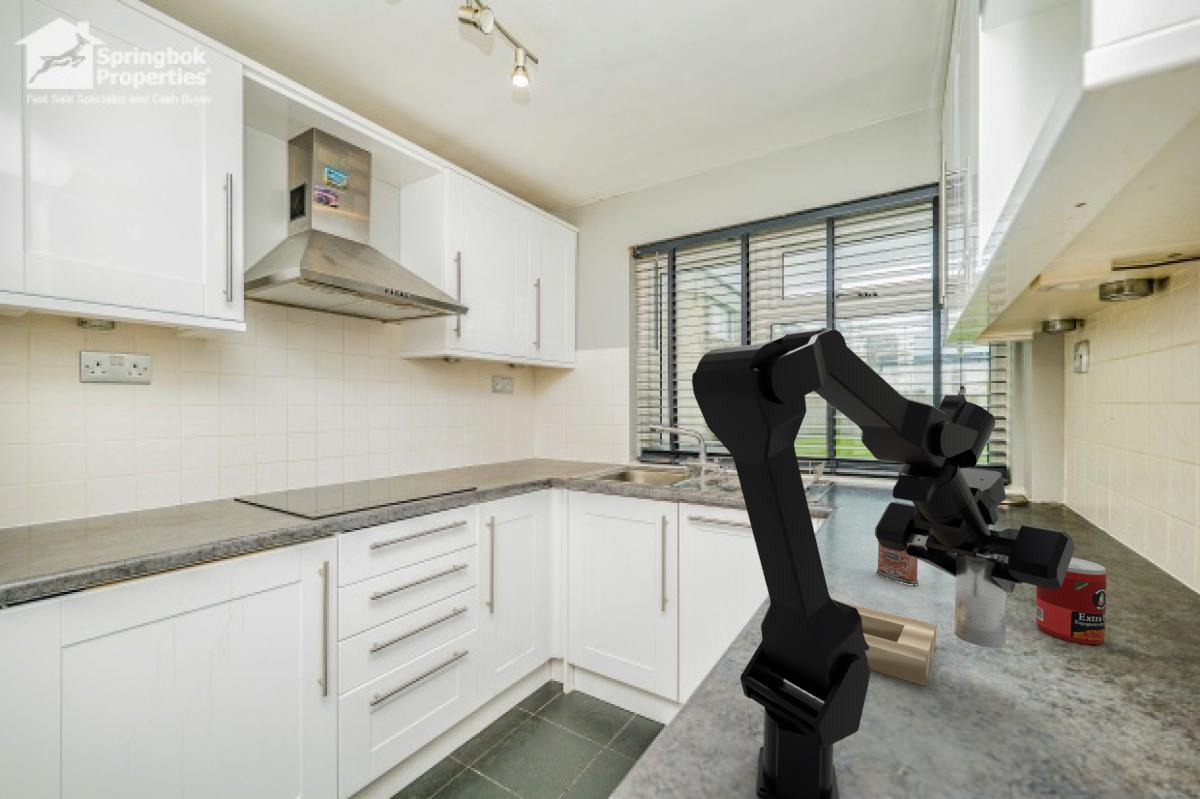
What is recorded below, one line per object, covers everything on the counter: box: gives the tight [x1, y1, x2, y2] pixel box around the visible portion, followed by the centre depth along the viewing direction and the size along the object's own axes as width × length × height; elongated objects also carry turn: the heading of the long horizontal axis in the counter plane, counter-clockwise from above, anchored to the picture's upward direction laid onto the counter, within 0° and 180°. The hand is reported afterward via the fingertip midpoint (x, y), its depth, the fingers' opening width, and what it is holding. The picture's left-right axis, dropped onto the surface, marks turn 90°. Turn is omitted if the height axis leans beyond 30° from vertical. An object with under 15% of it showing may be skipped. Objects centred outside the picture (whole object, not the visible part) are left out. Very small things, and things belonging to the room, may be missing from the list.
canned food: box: [1035, 557, 1107, 646], centre depth 79 cm, size 8×8×11 cm
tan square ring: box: [838, 600, 938, 687], centre depth 72 cm, size 14×14×3 cm
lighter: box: [876, 540, 919, 585], centre depth 103 cm, size 8×3×10 cm, turn 25°
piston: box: [953, 551, 1008, 649], centre depth 63 cm, size 5×5×12 cm
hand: (985, 582), depth 64 cm, fingers closed on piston, 5 cm apart
